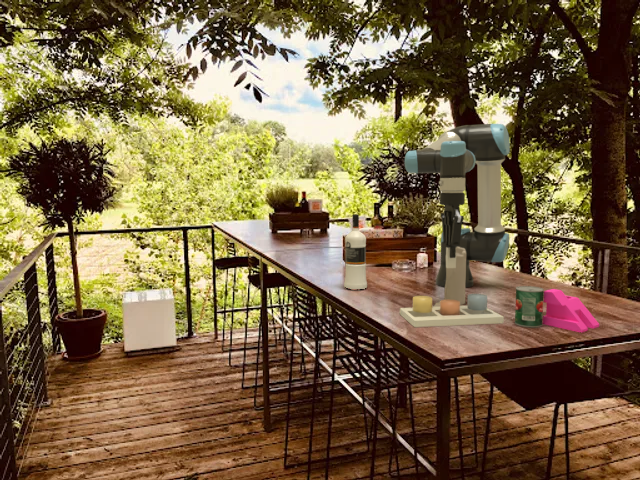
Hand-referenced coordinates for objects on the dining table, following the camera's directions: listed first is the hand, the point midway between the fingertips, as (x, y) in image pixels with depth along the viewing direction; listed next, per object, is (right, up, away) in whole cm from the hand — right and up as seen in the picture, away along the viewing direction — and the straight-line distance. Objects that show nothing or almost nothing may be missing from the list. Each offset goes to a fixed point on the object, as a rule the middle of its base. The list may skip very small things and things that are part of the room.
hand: (450, 267), depth 170 cm
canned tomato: (+22, -17, -5) cm, 28 cm away
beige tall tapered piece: (+4, -14, +21) cm, 26 cm away
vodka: (-27, -11, +49) cm, 57 cm away
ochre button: (-9, -13, 0) cm, 16 cm away
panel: (0, -16, +2) cm, 16 cm away
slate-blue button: (+9, -13, +3) cm, 16 cm away
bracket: (+34, -17, -7) cm, 39 cm away
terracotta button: (0, -15, +2) cm, 15 cm away
